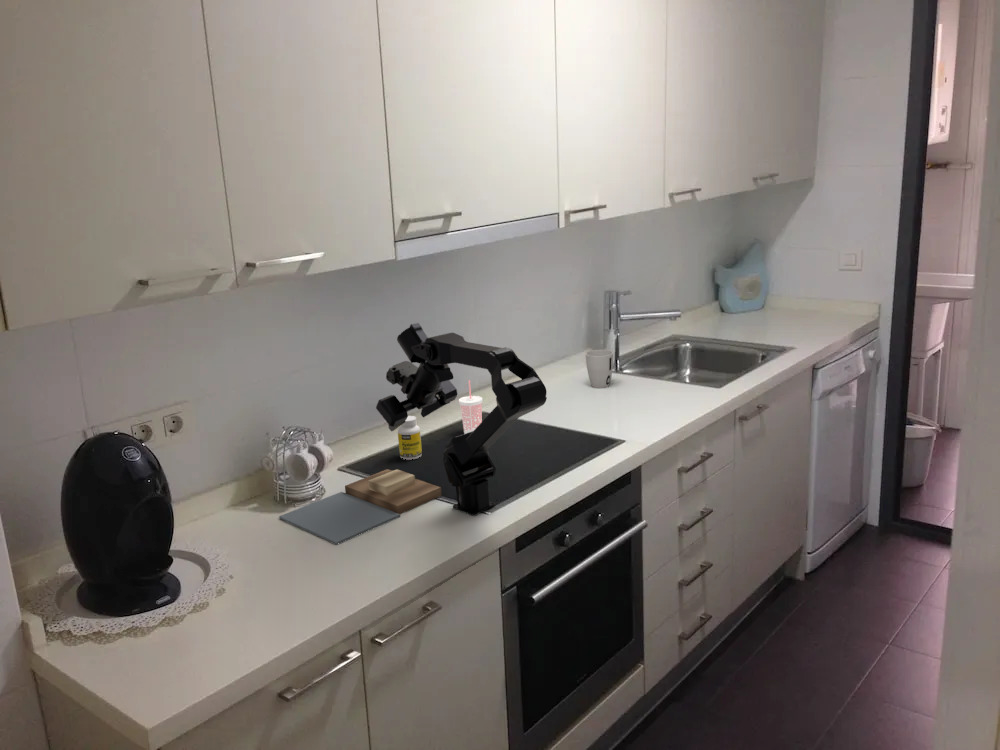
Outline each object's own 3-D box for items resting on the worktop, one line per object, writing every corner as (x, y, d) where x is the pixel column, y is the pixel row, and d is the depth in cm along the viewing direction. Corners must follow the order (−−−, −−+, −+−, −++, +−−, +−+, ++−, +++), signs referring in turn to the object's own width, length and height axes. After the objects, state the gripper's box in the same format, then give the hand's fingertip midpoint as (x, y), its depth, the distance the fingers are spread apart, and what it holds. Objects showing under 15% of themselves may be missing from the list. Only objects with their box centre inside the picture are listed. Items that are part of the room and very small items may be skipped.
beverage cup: (486, 428, 234) (482, 376, 231) (483, 436, 228) (479, 383, 225) (462, 428, 235) (459, 377, 231) (459, 436, 229) (455, 384, 225)
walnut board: (441, 495, 193) (440, 487, 192) (398, 514, 185) (397, 505, 184) (388, 477, 205) (387, 469, 205) (345, 494, 197) (344, 485, 196)
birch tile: (415, 483, 195) (414, 475, 194) (386, 495, 190) (385, 487, 189) (397, 477, 199) (396, 469, 199) (369, 489, 194) (368, 480, 193)
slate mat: (400, 516, 184) (400, 514, 184) (336, 544, 173) (336, 542, 173) (341, 493, 197) (341, 491, 197) (279, 518, 186) (278, 516, 186)
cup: (613, 389, 261) (612, 356, 258) (585, 389, 262) (584, 356, 260) (614, 381, 269) (613, 349, 266) (587, 381, 270) (586, 349, 267)
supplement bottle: (401, 461, 214) (397, 422, 212) (398, 454, 219) (395, 416, 217) (423, 458, 215) (420, 420, 213) (420, 451, 220) (417, 413, 218)
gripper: (438, 339, 198) (417, 383, 208) (371, 364, 186) (352, 410, 196) (469, 375, 194) (446, 418, 205) (402, 403, 182) (381, 447, 193)
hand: (406, 422), depth 200 cm, fingers open, 9 cm apart
